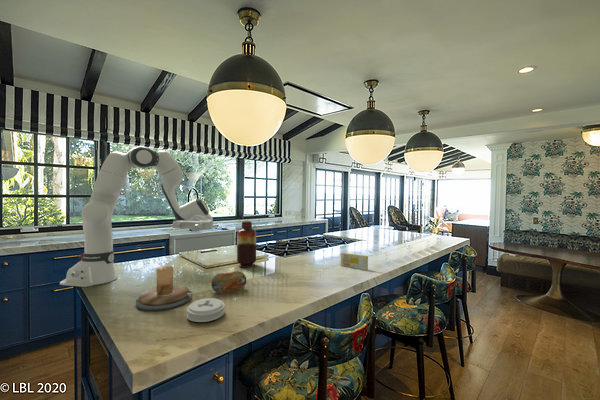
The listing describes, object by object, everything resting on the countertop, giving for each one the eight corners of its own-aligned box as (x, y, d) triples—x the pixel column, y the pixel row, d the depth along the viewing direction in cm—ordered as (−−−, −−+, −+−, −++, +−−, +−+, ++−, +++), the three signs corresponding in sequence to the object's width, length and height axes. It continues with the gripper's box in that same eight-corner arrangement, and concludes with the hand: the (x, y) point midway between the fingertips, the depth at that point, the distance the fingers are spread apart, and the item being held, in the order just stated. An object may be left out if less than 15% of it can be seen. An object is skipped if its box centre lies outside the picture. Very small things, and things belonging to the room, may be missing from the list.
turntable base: (124, 310, 101) (124, 306, 101) (153, 290, 121) (153, 287, 121) (178, 311, 101) (178, 307, 101) (198, 291, 121) (198, 288, 121)
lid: (220, 324, 92) (220, 309, 92) (181, 325, 91) (181, 310, 91) (227, 308, 105) (227, 295, 105) (193, 308, 104) (193, 295, 104)
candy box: (368, 270, 157) (368, 255, 157) (366, 271, 155) (367, 256, 155) (341, 265, 166) (342, 252, 165) (340, 266, 164) (340, 252, 163)
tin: (212, 295, 117) (212, 275, 117) (210, 292, 120) (210, 273, 120) (246, 289, 124) (246, 271, 124) (244, 287, 127) (244, 269, 127)
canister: (153, 295, 108) (153, 269, 108) (161, 289, 114) (161, 265, 114) (168, 295, 108) (168, 270, 108) (175, 290, 114) (175, 266, 114)
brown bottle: (233, 265, 163) (233, 221, 163) (249, 262, 171) (249, 220, 170) (243, 269, 155) (243, 223, 154) (259, 265, 163) (260, 221, 162)
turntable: (128, 305, 102) (128, 301, 102) (154, 288, 120) (154, 284, 120) (181, 306, 102) (181, 302, 102) (199, 288, 120) (199, 285, 120)
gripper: (178, 217, 154) (167, 219, 140) (215, 217, 154) (207, 220, 140) (179, 228, 154) (167, 232, 140) (215, 228, 154) (207, 232, 140)
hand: (187, 226), depth 140 cm, fingers open, 8 cm apart
